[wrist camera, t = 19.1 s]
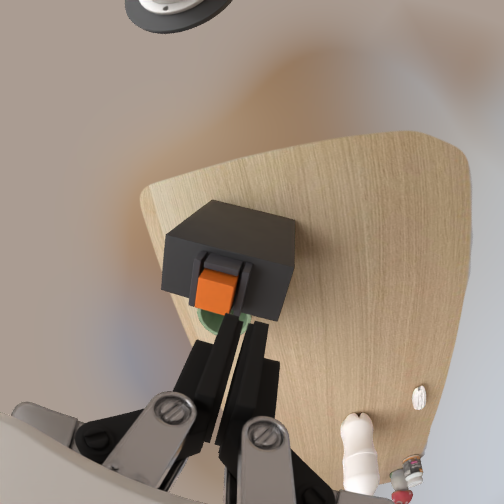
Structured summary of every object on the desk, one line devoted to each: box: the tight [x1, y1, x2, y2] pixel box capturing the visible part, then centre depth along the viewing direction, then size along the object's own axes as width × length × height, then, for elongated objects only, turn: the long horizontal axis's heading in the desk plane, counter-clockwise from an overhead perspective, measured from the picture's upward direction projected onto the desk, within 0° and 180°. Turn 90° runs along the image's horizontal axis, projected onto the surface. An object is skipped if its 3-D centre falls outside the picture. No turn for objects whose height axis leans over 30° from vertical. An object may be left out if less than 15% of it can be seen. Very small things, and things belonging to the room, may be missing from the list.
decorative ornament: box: [390, 469, 413, 504], centre depth 57 cm, size 9×7×15 cm
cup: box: [197, 308, 252, 335], centre depth 40 cm, size 7×7×8 cm
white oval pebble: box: [412, 385, 426, 410], centre depth 48 cm, size 3×8×3 cm, turn 23°
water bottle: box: [341, 413, 380, 496], centre depth 42 cm, size 7×7×25 cm
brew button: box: [195, 268, 239, 315], centre depth 25 cm, size 3×3×2 cm
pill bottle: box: [403, 455, 423, 487], centre depth 55 cm, size 6×6×10 cm
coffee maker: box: [161, 200, 295, 321], centre depth 35 cm, size 16×12×18 cm
